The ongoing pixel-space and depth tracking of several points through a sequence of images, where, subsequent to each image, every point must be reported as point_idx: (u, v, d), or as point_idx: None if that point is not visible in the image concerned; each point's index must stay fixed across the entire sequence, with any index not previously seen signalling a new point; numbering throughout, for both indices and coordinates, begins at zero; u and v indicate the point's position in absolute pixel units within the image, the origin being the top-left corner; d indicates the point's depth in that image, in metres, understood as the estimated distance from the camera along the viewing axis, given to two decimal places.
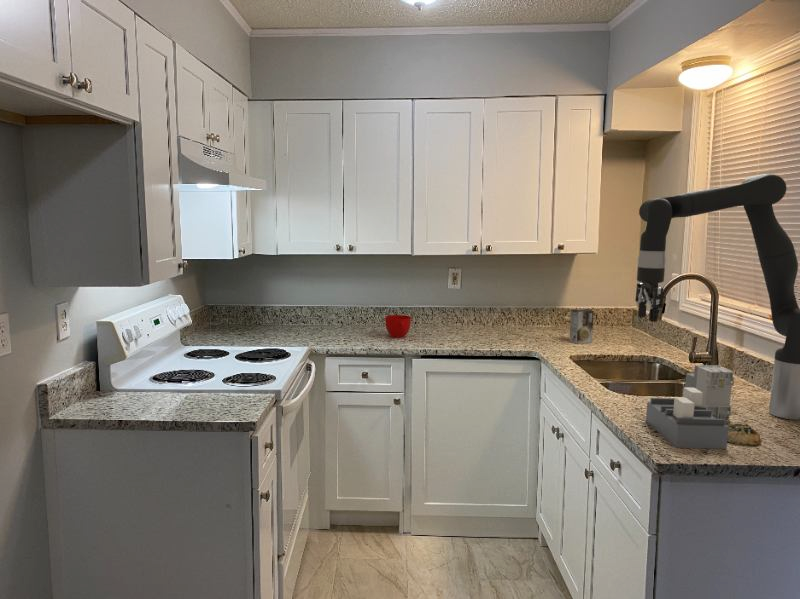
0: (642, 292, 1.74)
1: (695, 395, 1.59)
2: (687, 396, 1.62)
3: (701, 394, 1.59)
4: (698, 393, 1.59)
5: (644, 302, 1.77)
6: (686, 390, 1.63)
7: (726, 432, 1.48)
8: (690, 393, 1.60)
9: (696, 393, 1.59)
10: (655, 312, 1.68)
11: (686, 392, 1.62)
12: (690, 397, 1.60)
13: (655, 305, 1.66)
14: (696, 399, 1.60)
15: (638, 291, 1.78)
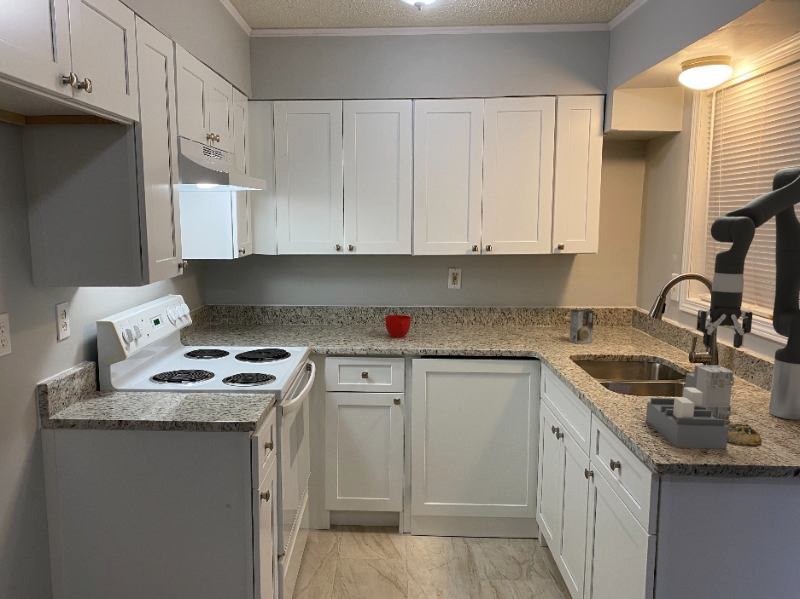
0: None
1: (695, 395, 1.59)
2: (687, 396, 1.62)
3: (701, 394, 1.59)
4: (698, 393, 1.59)
5: None
6: (686, 390, 1.63)
7: (726, 432, 1.48)
8: (690, 393, 1.60)
9: (696, 393, 1.59)
10: None
11: (686, 392, 1.62)
12: (690, 397, 1.60)
13: None
14: (696, 399, 1.60)
15: None
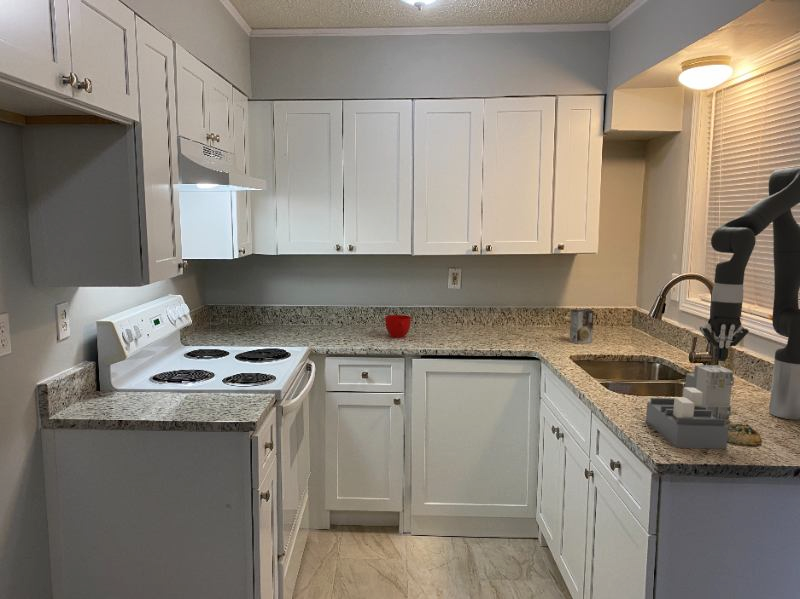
0: None
1: (695, 395, 1.59)
2: (687, 396, 1.62)
3: (701, 394, 1.59)
4: (698, 393, 1.59)
5: None
6: (686, 390, 1.63)
7: (726, 432, 1.48)
8: (690, 393, 1.60)
9: (696, 393, 1.59)
10: None
11: (686, 392, 1.62)
12: (690, 397, 1.60)
13: None
14: (696, 399, 1.60)
15: None
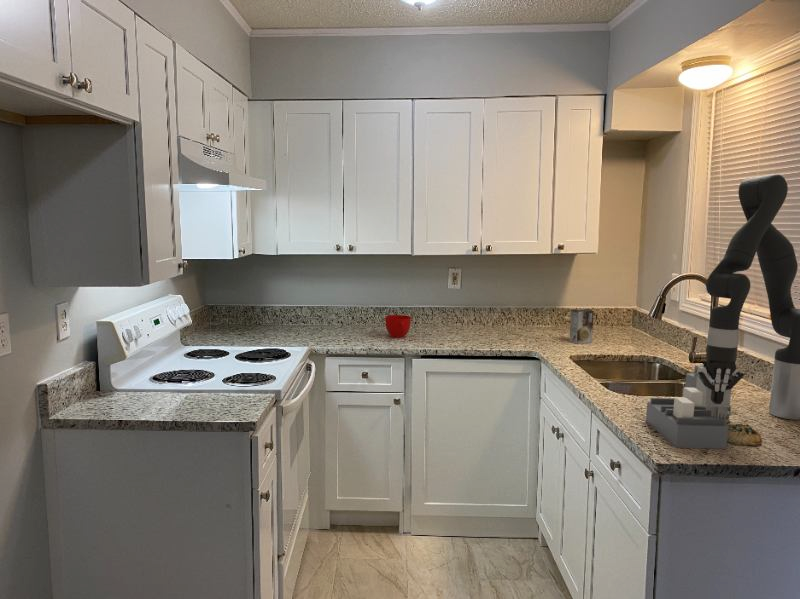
0: None
1: (695, 395, 1.59)
2: (687, 396, 1.62)
3: (701, 394, 1.59)
4: (698, 393, 1.59)
5: None
6: (686, 390, 1.63)
7: (726, 432, 1.48)
8: (690, 393, 1.60)
9: (696, 393, 1.59)
10: None
11: (686, 392, 1.62)
12: (690, 397, 1.60)
13: None
14: (696, 399, 1.60)
15: (706, 378, 1.60)
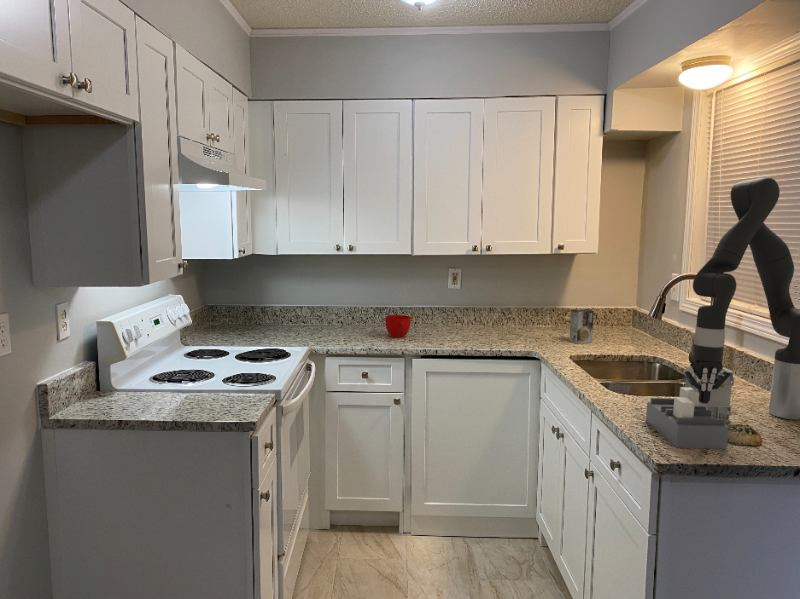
0: None
1: (691, 395, 1.59)
2: (683, 396, 1.62)
3: (697, 394, 1.59)
4: (694, 393, 1.59)
5: None
6: (683, 390, 1.63)
7: (726, 432, 1.48)
8: (686, 393, 1.60)
9: (692, 393, 1.59)
10: None
11: (683, 392, 1.62)
12: (686, 397, 1.60)
13: None
14: (692, 399, 1.60)
15: None
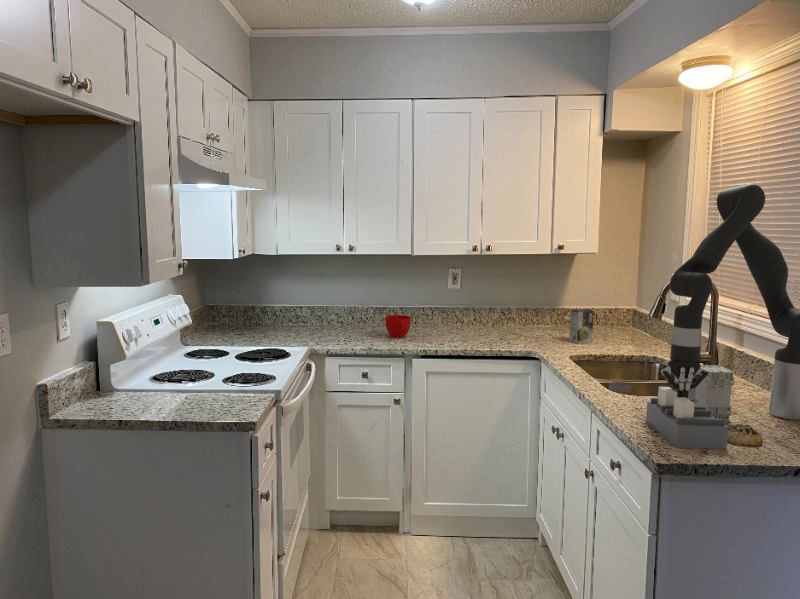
0: None
1: (669, 394, 1.60)
2: (662, 395, 1.62)
3: (675, 393, 1.60)
4: (672, 392, 1.60)
5: None
6: (661, 389, 1.63)
7: (726, 432, 1.48)
8: (664, 392, 1.60)
9: (670, 392, 1.60)
10: None
11: (661, 391, 1.63)
12: (664, 396, 1.60)
13: None
14: (670, 398, 1.60)
15: (670, 377, 1.60)
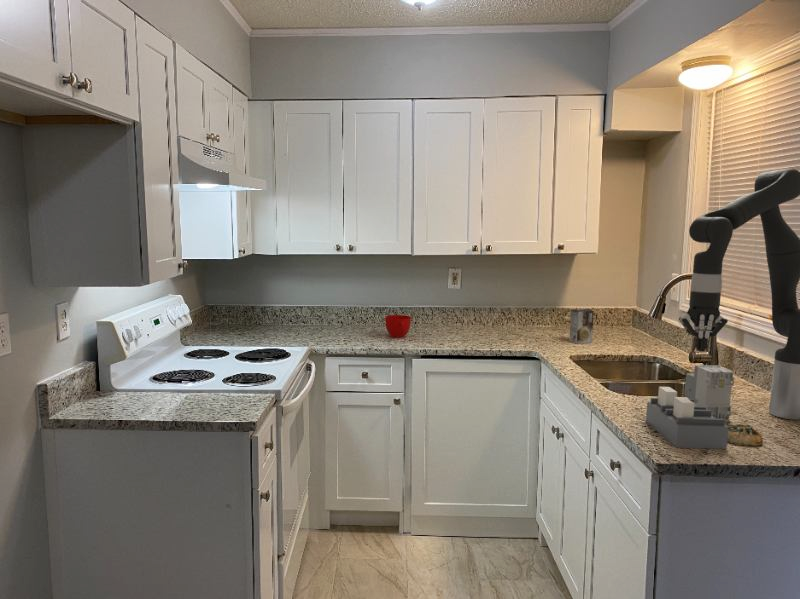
0: None
1: (669, 394, 1.60)
2: (662, 395, 1.62)
3: (675, 393, 1.60)
4: (672, 392, 1.60)
5: None
6: (661, 389, 1.63)
7: (726, 432, 1.48)
8: (665, 392, 1.60)
9: (670, 392, 1.60)
10: None
11: (661, 391, 1.63)
12: (665, 396, 1.60)
13: None
14: (671, 398, 1.60)
15: None
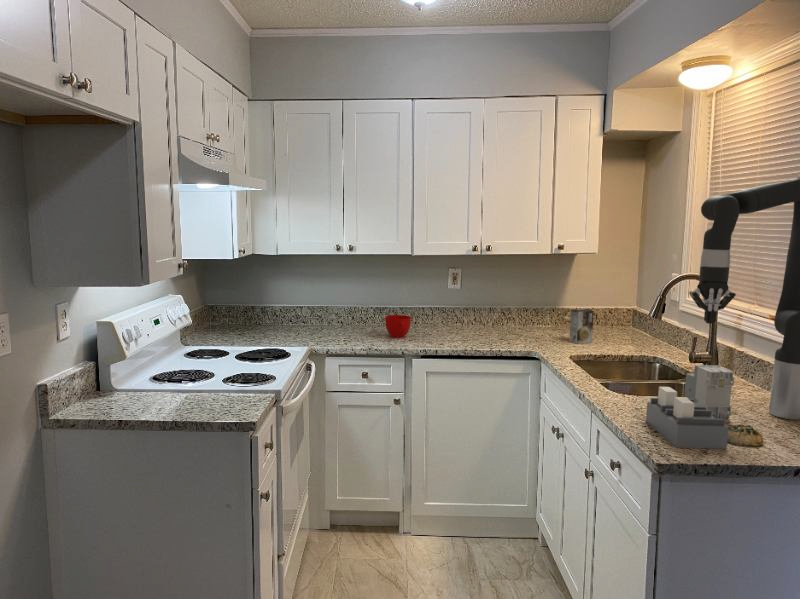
0: None
1: (669, 394, 1.60)
2: (662, 395, 1.62)
3: (675, 393, 1.60)
4: (672, 392, 1.60)
5: None
6: (661, 389, 1.63)
7: (726, 432, 1.48)
8: (665, 392, 1.60)
9: (670, 392, 1.60)
10: None
11: (661, 391, 1.63)
12: (665, 396, 1.60)
13: None
14: (671, 398, 1.60)
15: (699, 298, 1.67)
